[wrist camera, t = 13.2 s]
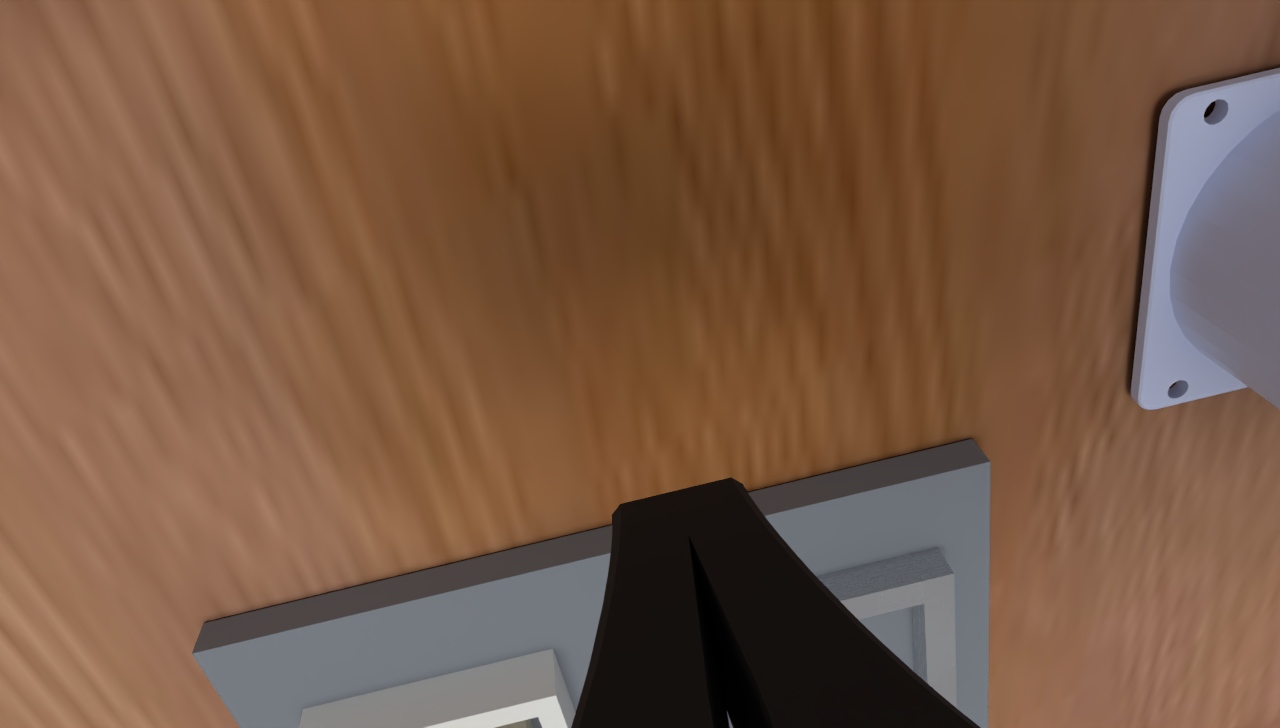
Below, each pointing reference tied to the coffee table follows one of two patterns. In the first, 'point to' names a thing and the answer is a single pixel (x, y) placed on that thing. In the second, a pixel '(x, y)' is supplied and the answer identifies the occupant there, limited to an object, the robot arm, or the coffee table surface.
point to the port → (460, 699)
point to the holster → (906, 585)
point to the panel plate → (602, 595)
